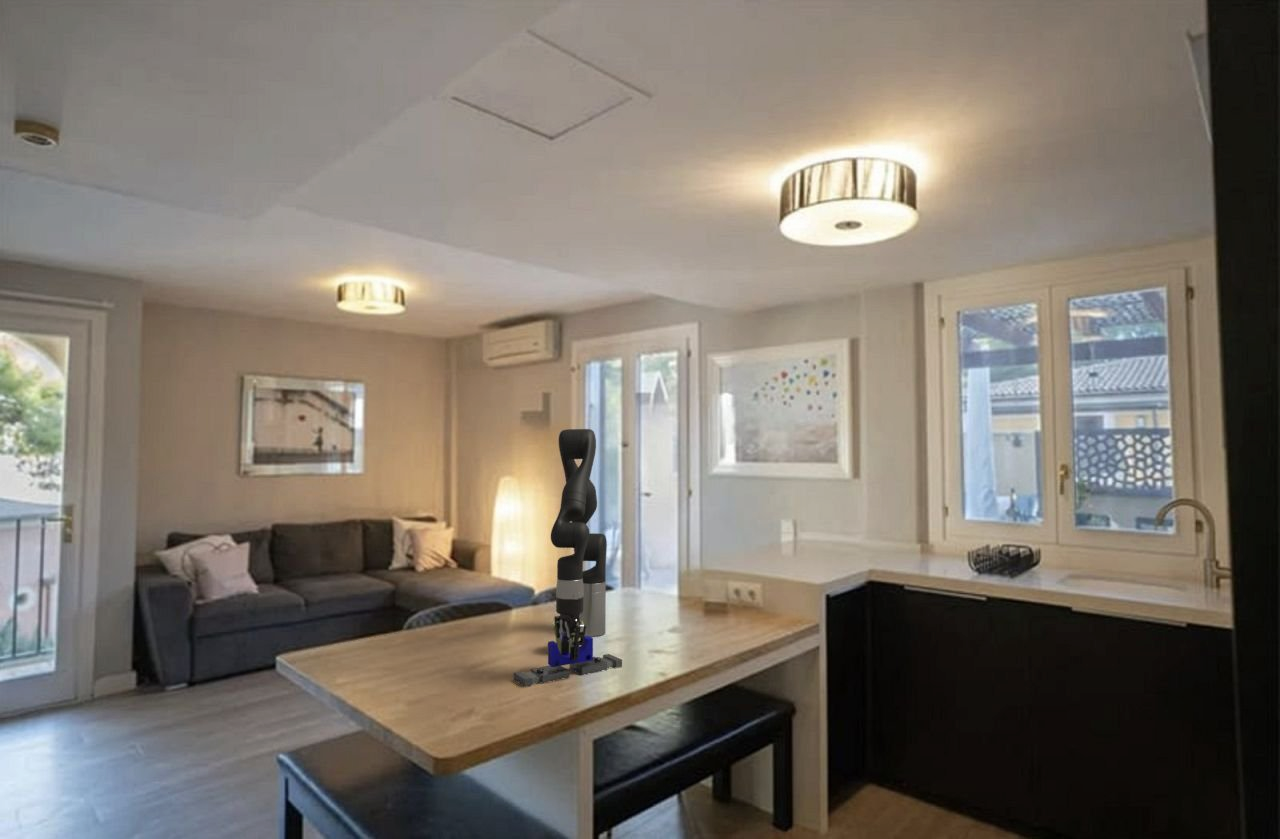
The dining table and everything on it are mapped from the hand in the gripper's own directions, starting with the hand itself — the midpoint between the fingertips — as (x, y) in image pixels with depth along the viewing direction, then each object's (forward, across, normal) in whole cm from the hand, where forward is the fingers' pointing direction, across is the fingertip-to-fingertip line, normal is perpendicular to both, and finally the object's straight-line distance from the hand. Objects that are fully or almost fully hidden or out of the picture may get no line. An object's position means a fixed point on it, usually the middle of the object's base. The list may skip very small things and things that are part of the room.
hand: (569, 657), depth 191 cm
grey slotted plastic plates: (+4, 0, 0) cm, 4 cm away
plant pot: (+5, -19, +10) cm, 22 cm away
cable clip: (+1, 0, 0) cm, 1 cm away
